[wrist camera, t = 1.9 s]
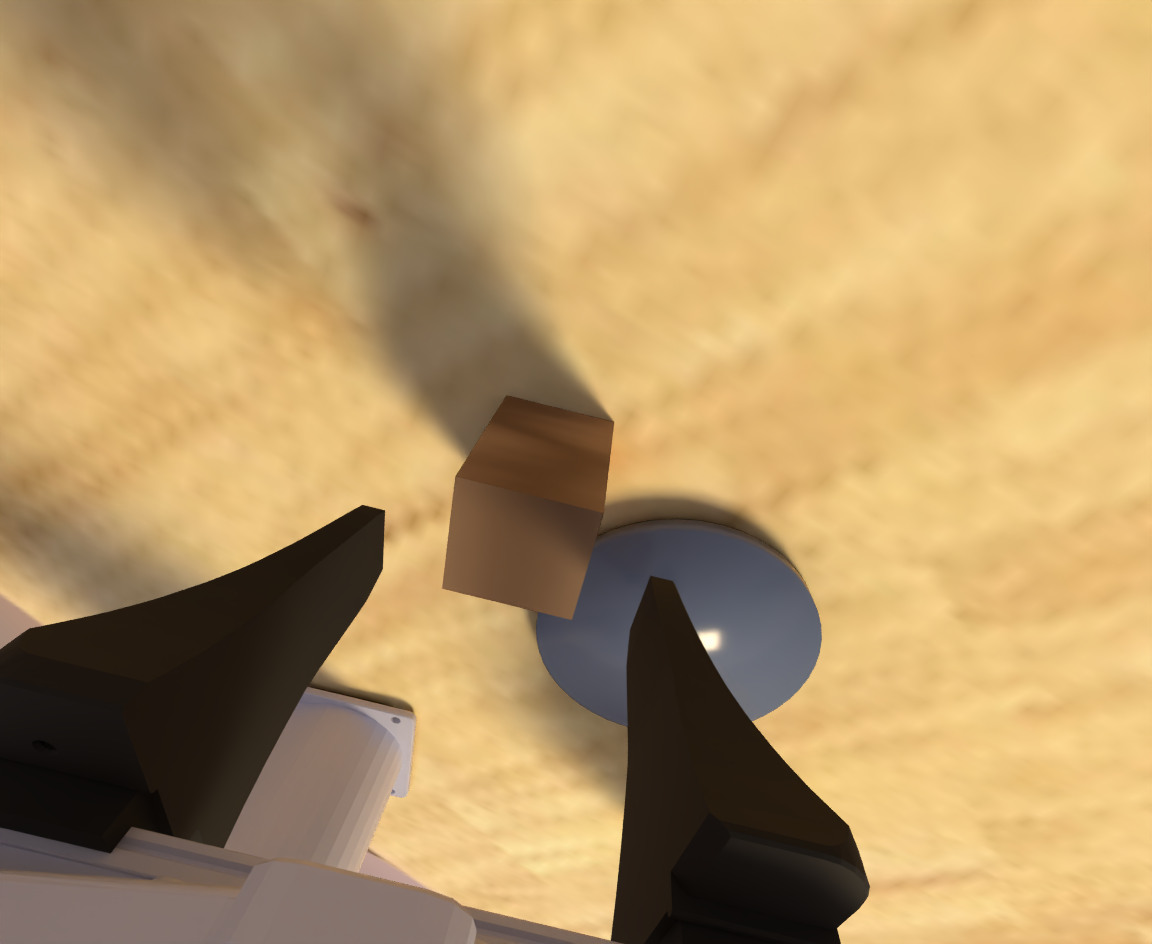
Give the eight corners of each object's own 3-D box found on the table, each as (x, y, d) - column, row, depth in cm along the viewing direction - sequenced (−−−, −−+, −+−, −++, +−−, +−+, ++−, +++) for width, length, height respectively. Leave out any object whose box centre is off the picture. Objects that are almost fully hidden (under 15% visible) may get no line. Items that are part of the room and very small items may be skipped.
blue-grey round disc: (520, 683, 26) (516, 700, 25) (570, 484, 20) (566, 498, 19) (751, 738, 26) (754, 757, 26) (867, 557, 20) (877, 574, 20)
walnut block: (492, 487, 21) (442, 588, 16) (506, 395, 19) (455, 476, 14) (589, 510, 21) (572, 619, 16) (614, 421, 19) (603, 513, 14)
